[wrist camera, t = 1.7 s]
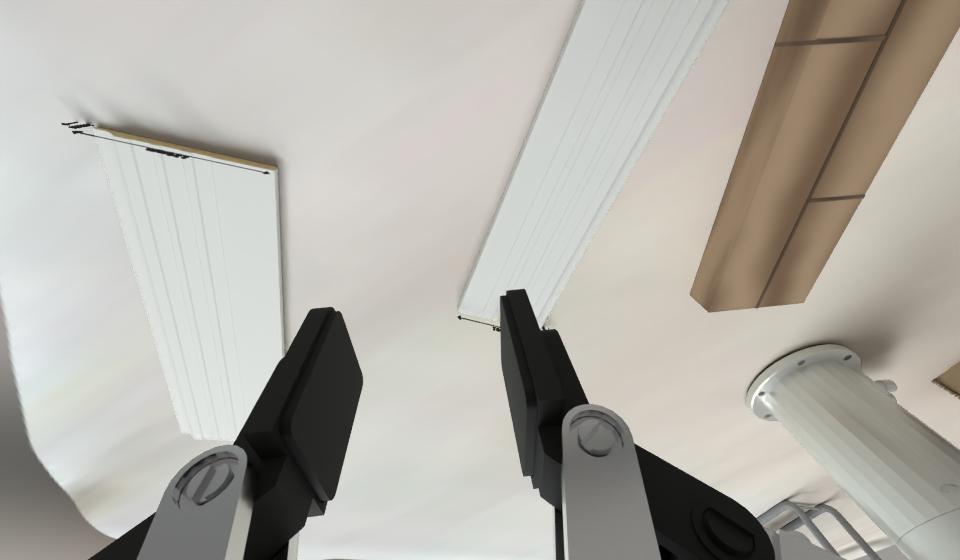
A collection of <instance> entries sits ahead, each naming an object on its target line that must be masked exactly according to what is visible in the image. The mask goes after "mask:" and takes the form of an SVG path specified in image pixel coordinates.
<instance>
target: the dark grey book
mask: <svg viewBox="0 0 960 560" xmlns="http://www.w3.org/2000/svg"><path fill="white" fill-rule="evenodd" d="M932 383H934V384H936V385H939V387H940V388H944V389H943V390H945V391H948V392H950V394H951V395H955V396H954V397H958V399H960V362H959V363H958V364H956V365H955V366H953V367H952V368H950V369H949V370H948V371H946V372H945V373H944V374H942V375H941V376H940V377H939V378H937V379H934V380H933V381H932Z"/></svg>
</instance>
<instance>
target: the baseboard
mask: <svg viewBox="0 0 960 560" xmlns="http://www.w3.org/2000/svg"><path fill="white" fill-rule="evenodd" d="M728 2H729V0H582V1H581V3H580V6H579V8H578V11H577V13H576V16H575V18H574V20H573V23H572V25H571V28H570V30H569V33H568V35H567V38H566V40H565V43H564V45H563V48H562V50H561V52H560V55H559V57H558V60H557V62H556V65H555V67H554V70H553V72H552V75H551V77H550V80H549V82H548V85H547V87H546V89H545V92H544V94H543V97H542V99H541V102H540V104H539V107H538V109H537V112H536V114H535V117H534V119H533V121H532V124H531V126H530V129H529V131H528V134H527V136H526V139H525V141H524V144H523V146H522V149H521V151H520V153H519V156H518V158H517V161H516V163H515V166H514V168H513V171H512V173H511V176H510V178H509V181H508V183H507V185H506V188H505V190H504V193H503V195H502V198H501V200H500V203H499V205H498V208H497V210H496V213H495V215H494V217H493V220H492V222H491V225H490V227H489V230H488V232H487V235H486V237H485V240H484V242H483V245H482V247H481V250H480V252H479V254H478V257H477V259H476V262H475V264H474V267H473V269H472V272H471V274H470V277H469V279H468V282H467V284H466V286H465V289H464V291H463V294H462V296H461V299H460V301H459V304H458V306H457V307H458V312H460V313H464V314H468V315H472V316H476V317H483V318H487V319H491V320H493V321H499V322H500V296H503V295H506V291H507V290H516V289H525V290H526V293H527V295H528V298H529V301H530V303H531V306H532V309H533V311H534V314H535V317H536V320H537V322H538V325H539V328H540V329H541V327H542V325H543V323H544V322H545V320H546V318H547V317H548V315H549V313H550V311H551V310H552V308H553V306H554V304H555V303H556V301H557V299H558V297H559V296H560V294H561V292H562V290H563V289H564V287H565V285H566V284H567V282H568V280H569V278H570V277H571V275H572V273H573V271H574V270H575V268H576V266H577V264H578V263H579V261H580V259H581V257H582V256H583V254H584V252H585V250H586V249H587V247H588V245H589V244H590V242H591V240H592V238H593V237H594V235H595V233H596V231H597V230H598V228H599V226H600V224H601V223H602V221H603V219H604V217H605V216H606V214H607V212H608V211H609V209H610V207H611V205H612V204H613V202H614V200H615V198H616V197H617V195H618V193H619V191H620V190H621V188H622V186H623V184H624V183H625V181H626V179H627V177H628V176H629V174H630V172H631V171H632V169H633V167H634V165H635V164H636V162H637V160H638V158H639V157H640V155H641V153H642V151H643V150H644V148H645V146H646V144H647V143H648V141H649V139H650V138H651V136H652V134H653V132H654V131H655V129H656V127H657V125H658V124H659V122H660V120H661V118H662V117H663V115H664V113H665V111H666V110H667V108H668V106H669V105H670V103H671V101H672V99H673V98H674V96H675V94H676V92H677V91H678V89H679V87H680V85H681V84H682V82H683V80H684V78H685V77H686V75H687V73H688V71H689V70H690V68H691V66H692V65H693V63H694V61H695V59H696V58H697V56H698V54H699V52H700V51H701V49H702V47H703V45H704V44H705V42H706V40H707V38H708V37H709V35H710V33H711V32H712V30H713V28H714V26H715V25H716V23H717V21H718V19H719V18H720V16H721V14H722V12H723V11H724V9H725V7H726V5H727V4H728ZM458 318H459V319H460V320H461V316H458ZM462 319H465V318H462ZM466 320H469V319H466ZM470 321H473V320H470ZM474 322H477V321H474ZM479 323H482V322H479ZM483 324H486V323H483ZM487 325H490V324H487ZM491 326H494V325H491ZM496 327H498V326H495V327H493V328H494V329H493V330H494V331H495V328H496ZM499 328H501V327H499ZM499 328H496V331H498V332H499V331H500V332H501V329H499ZM542 329H543V330H545V327H542ZM548 329H549V328H548Z"/></svg>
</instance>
